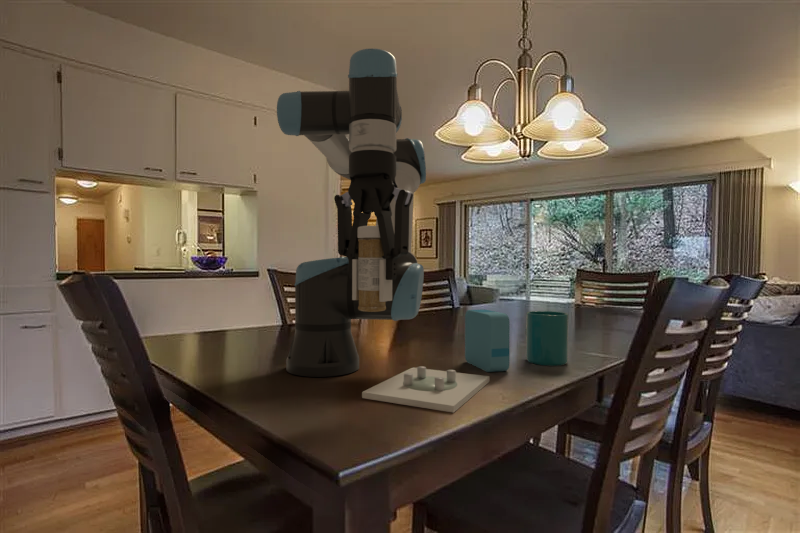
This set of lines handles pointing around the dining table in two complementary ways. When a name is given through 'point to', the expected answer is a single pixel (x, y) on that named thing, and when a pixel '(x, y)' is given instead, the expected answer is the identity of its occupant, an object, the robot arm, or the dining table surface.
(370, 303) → the sprinkles bottle
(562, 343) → the cup
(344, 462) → the dining table surface
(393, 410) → the dining table surface
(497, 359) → the data package
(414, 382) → the pin tray
